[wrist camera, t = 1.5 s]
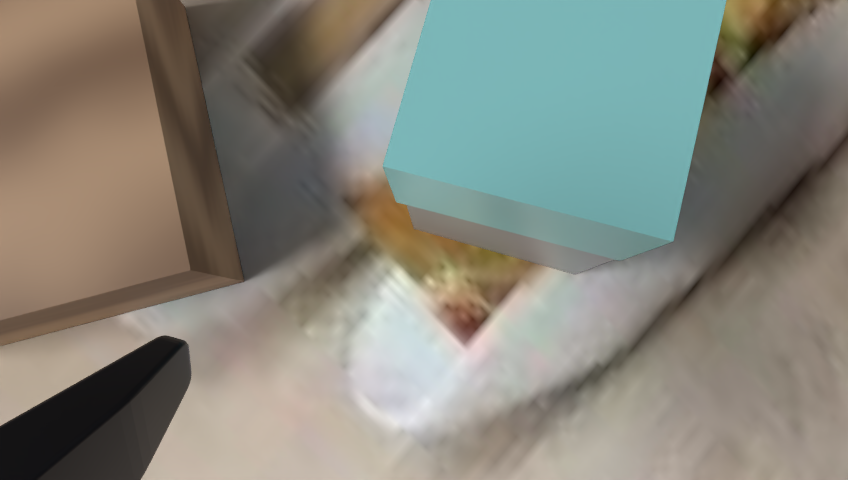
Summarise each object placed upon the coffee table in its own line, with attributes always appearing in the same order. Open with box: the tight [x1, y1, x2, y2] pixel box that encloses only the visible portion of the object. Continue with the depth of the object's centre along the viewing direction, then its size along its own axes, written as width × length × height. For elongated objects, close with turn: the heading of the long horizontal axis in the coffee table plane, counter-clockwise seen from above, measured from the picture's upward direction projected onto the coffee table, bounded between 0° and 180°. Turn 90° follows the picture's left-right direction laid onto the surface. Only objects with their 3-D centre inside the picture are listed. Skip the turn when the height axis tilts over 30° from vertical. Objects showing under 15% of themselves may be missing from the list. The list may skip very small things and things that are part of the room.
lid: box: [383, 0, 726, 261], centre depth 16 cm, size 7×7×4 cm
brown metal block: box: [0, 0, 244, 346], centre depth 22 cm, size 12×12×5 cm
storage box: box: [407, 205, 614, 274], centre depth 20 cm, size 6×6×8 cm
